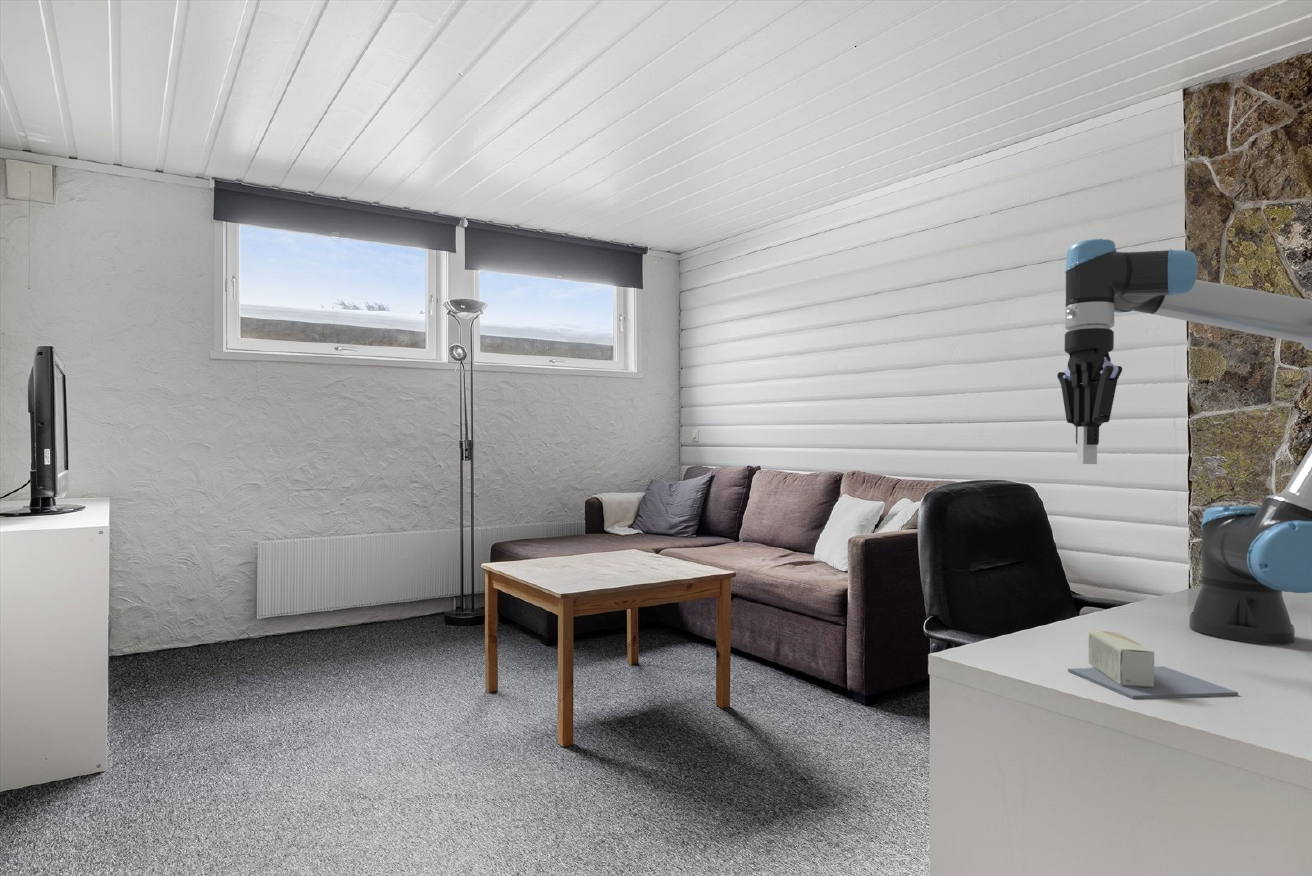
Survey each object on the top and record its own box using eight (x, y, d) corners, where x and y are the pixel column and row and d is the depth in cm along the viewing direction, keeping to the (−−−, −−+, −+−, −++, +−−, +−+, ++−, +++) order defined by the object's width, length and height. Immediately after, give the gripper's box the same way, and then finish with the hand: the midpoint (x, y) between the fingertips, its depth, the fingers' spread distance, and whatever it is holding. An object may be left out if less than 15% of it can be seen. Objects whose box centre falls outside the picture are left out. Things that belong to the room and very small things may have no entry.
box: (1118, 665, 112) (1154, 690, 101) (1087, 663, 113) (1119, 688, 102) (1119, 630, 112) (1155, 651, 101) (1088, 628, 113) (1120, 649, 102)
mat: (1163, 669, 112) (1163, 666, 112) (1238, 695, 101) (1238, 692, 101) (1068, 671, 110) (1068, 668, 110) (1132, 698, 98) (1132, 695, 98)
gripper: (1044, 334, 138) (1042, 462, 138) (1097, 322, 125) (1095, 464, 125) (1081, 336, 139) (1079, 463, 139) (1137, 325, 126) (1135, 465, 126)
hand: (1086, 463), depth 132 cm, fingers closed
